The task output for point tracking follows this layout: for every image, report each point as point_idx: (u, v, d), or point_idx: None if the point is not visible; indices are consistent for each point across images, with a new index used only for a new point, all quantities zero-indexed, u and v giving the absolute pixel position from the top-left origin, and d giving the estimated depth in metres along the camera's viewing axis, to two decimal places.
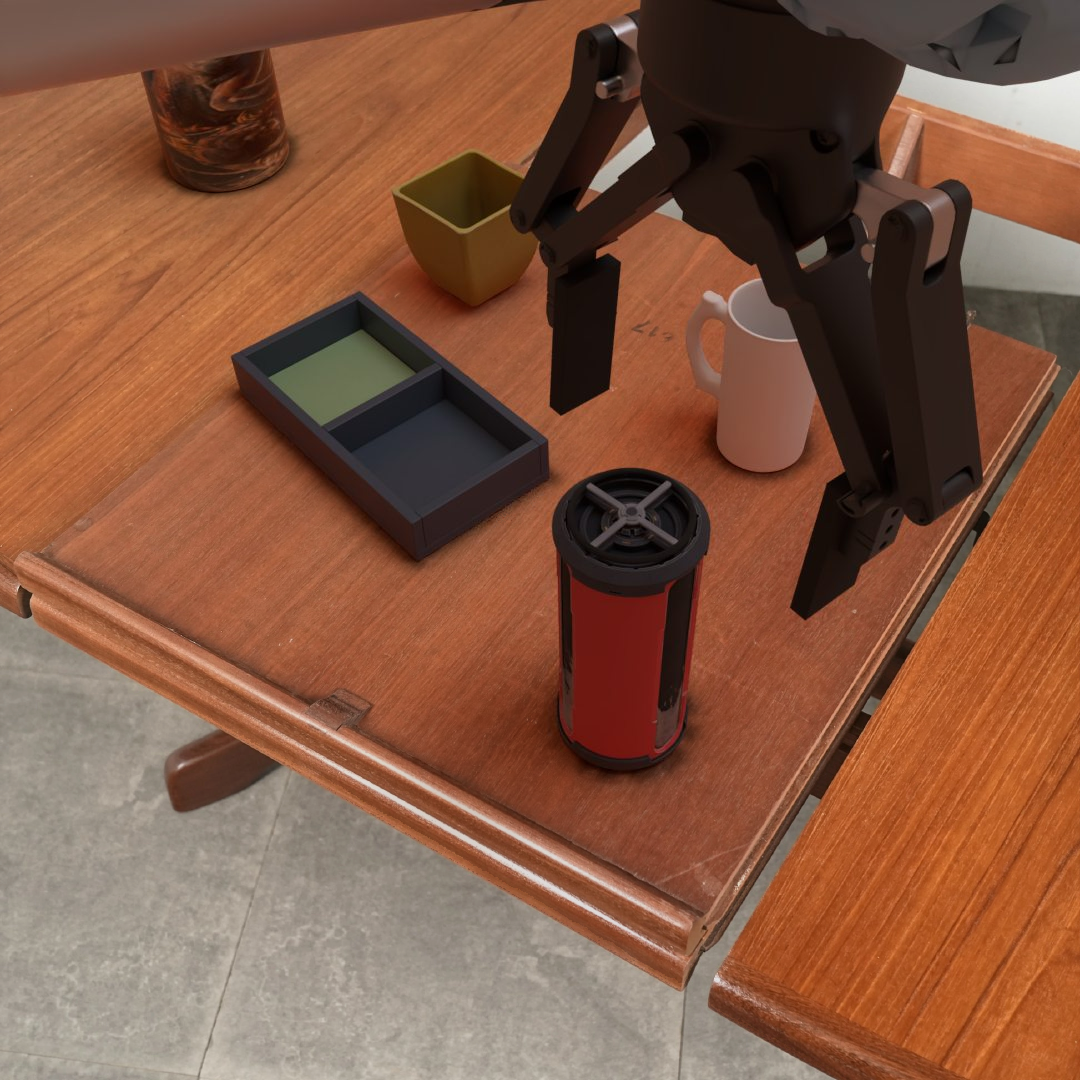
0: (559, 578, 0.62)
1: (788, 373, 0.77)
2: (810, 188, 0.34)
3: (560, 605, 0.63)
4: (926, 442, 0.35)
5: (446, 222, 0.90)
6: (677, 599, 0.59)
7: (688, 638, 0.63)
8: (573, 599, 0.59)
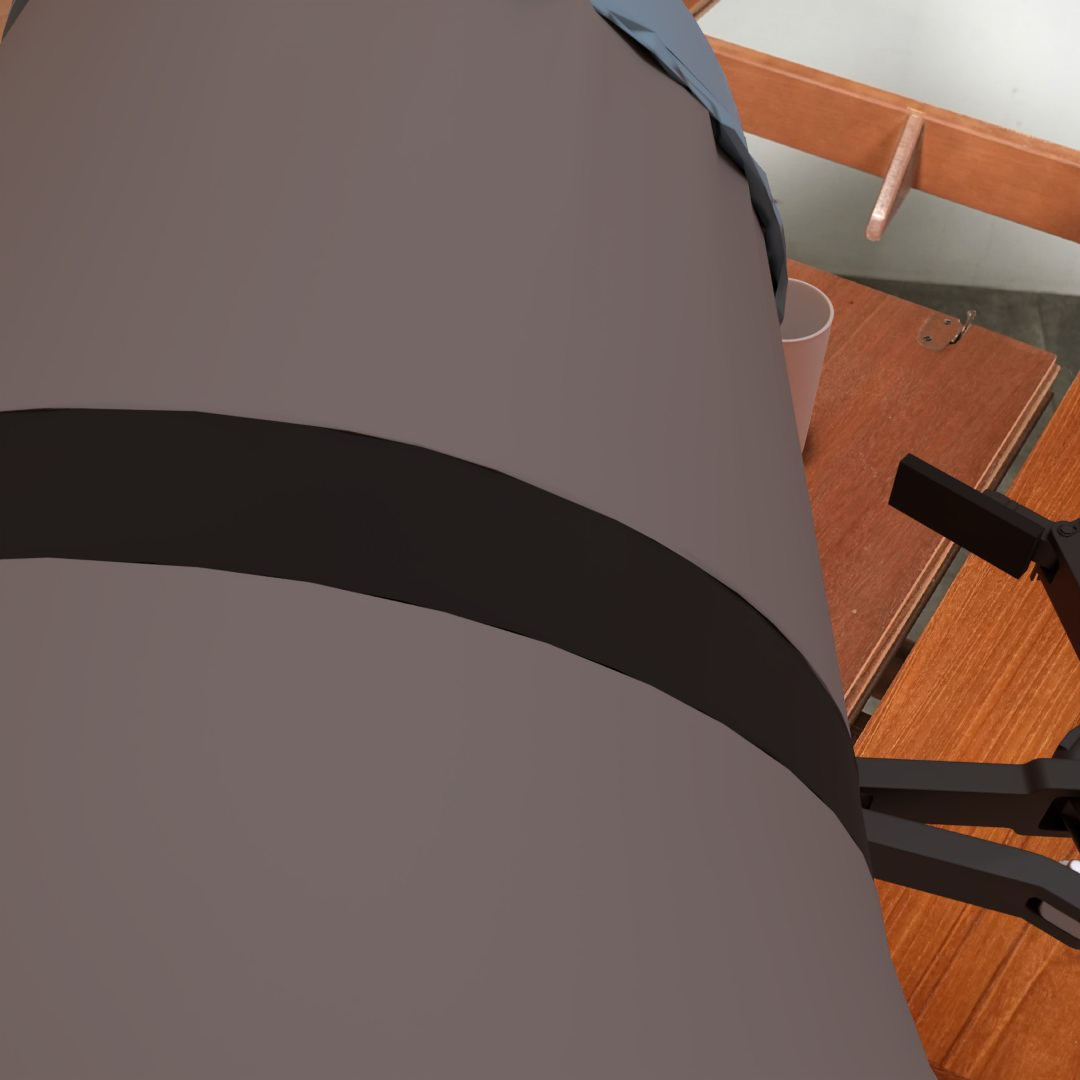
0: None
1: (788, 373, 0.77)
2: None
3: None
4: (899, 850, 0.40)
5: None
6: None
7: None
8: None
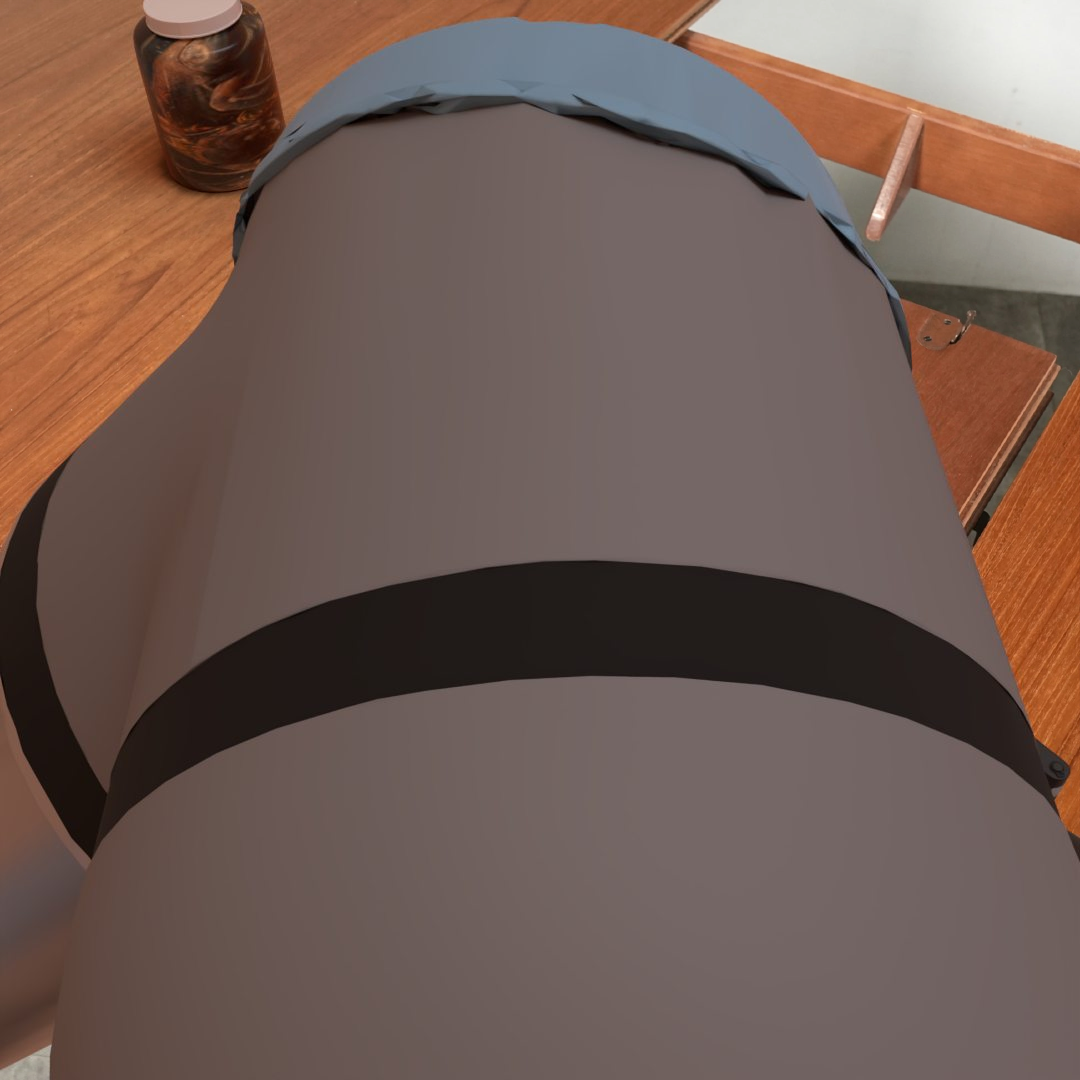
0: None
1: None
2: None
3: None
4: None
5: None
6: None
7: None
8: None
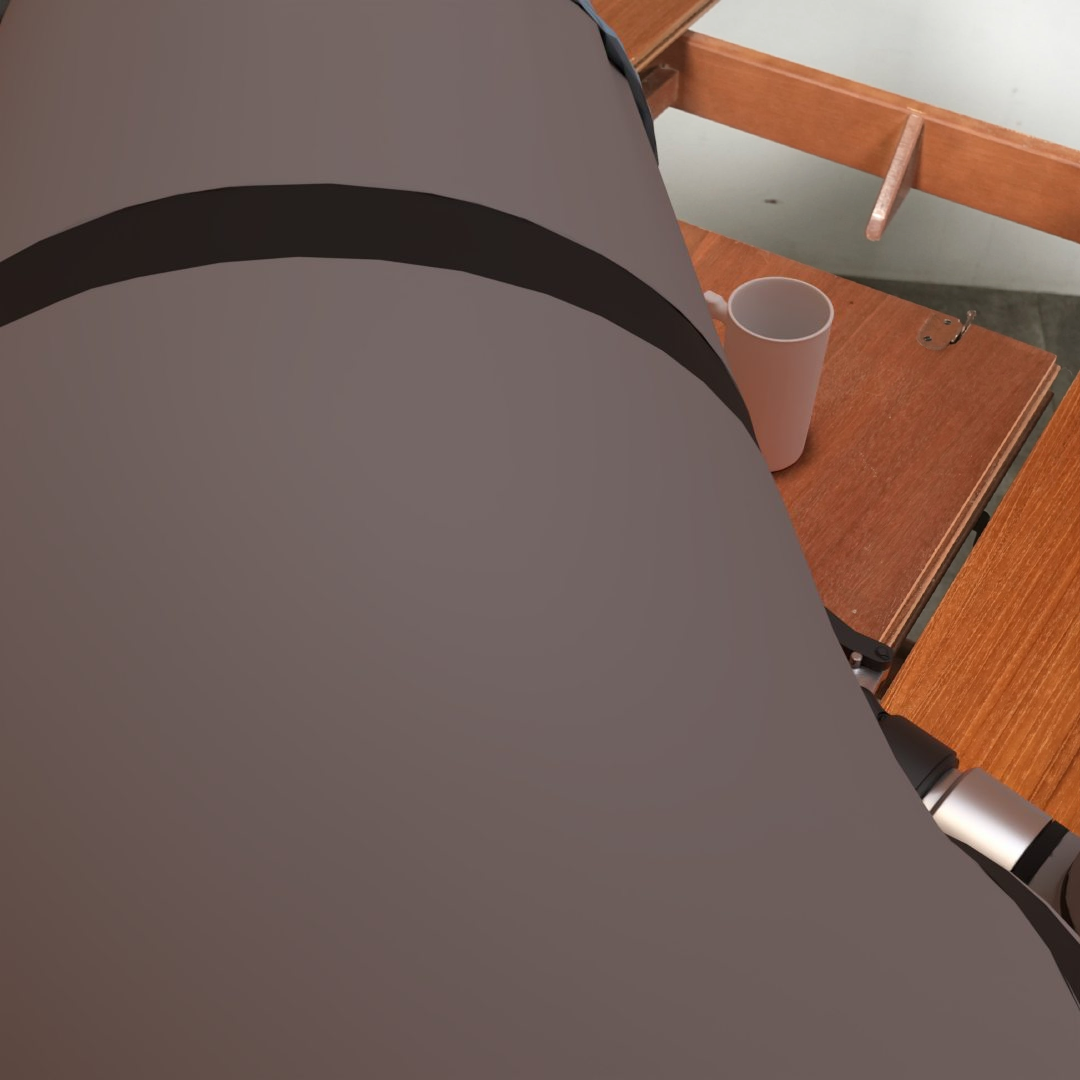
0: None
1: (788, 373, 0.77)
2: None
3: None
4: None
5: None
6: None
7: None
8: None
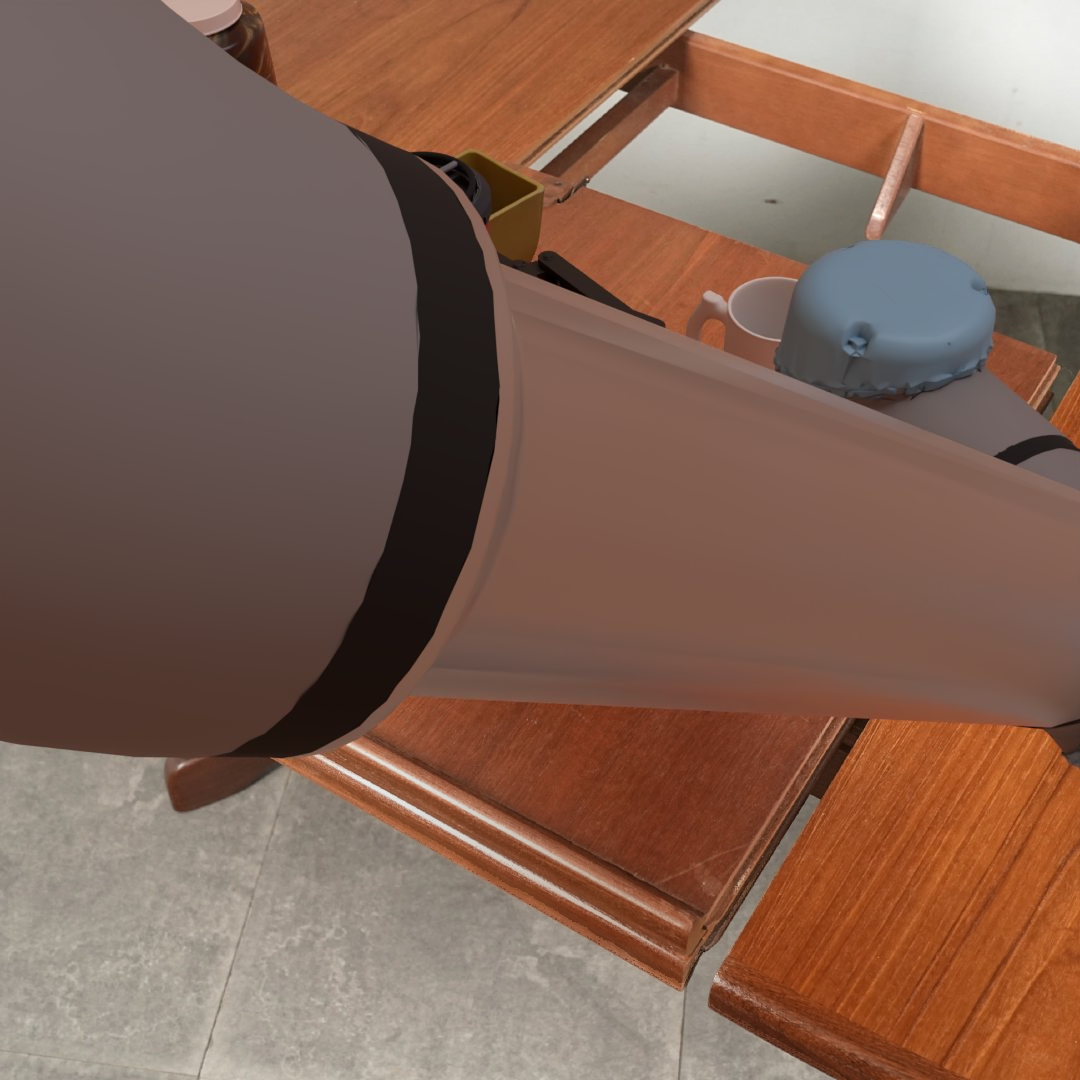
0: None
1: None
2: None
3: None
4: None
5: None
6: None
7: None
8: None
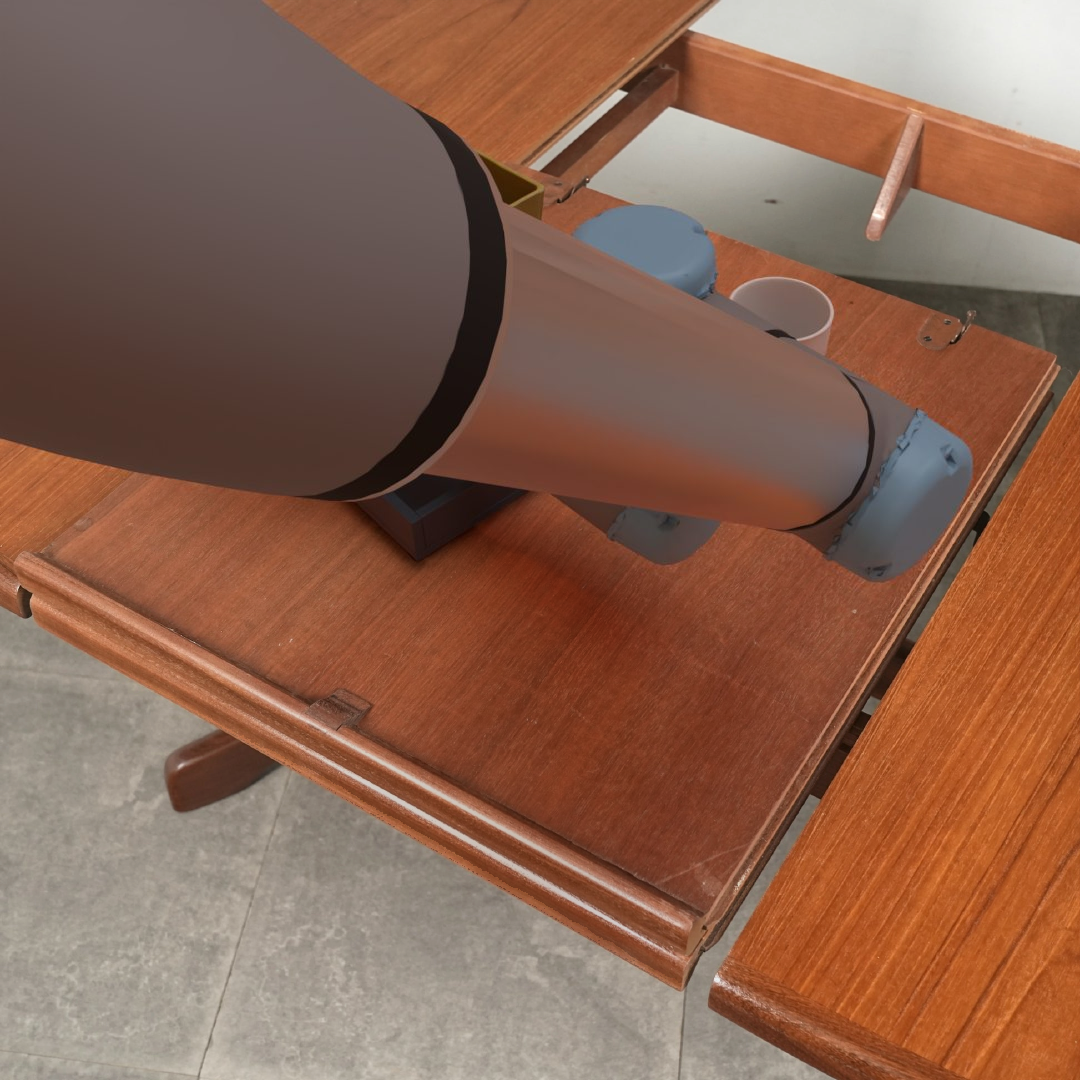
0: None
1: None
2: None
3: None
4: None
5: None
6: None
7: None
8: None
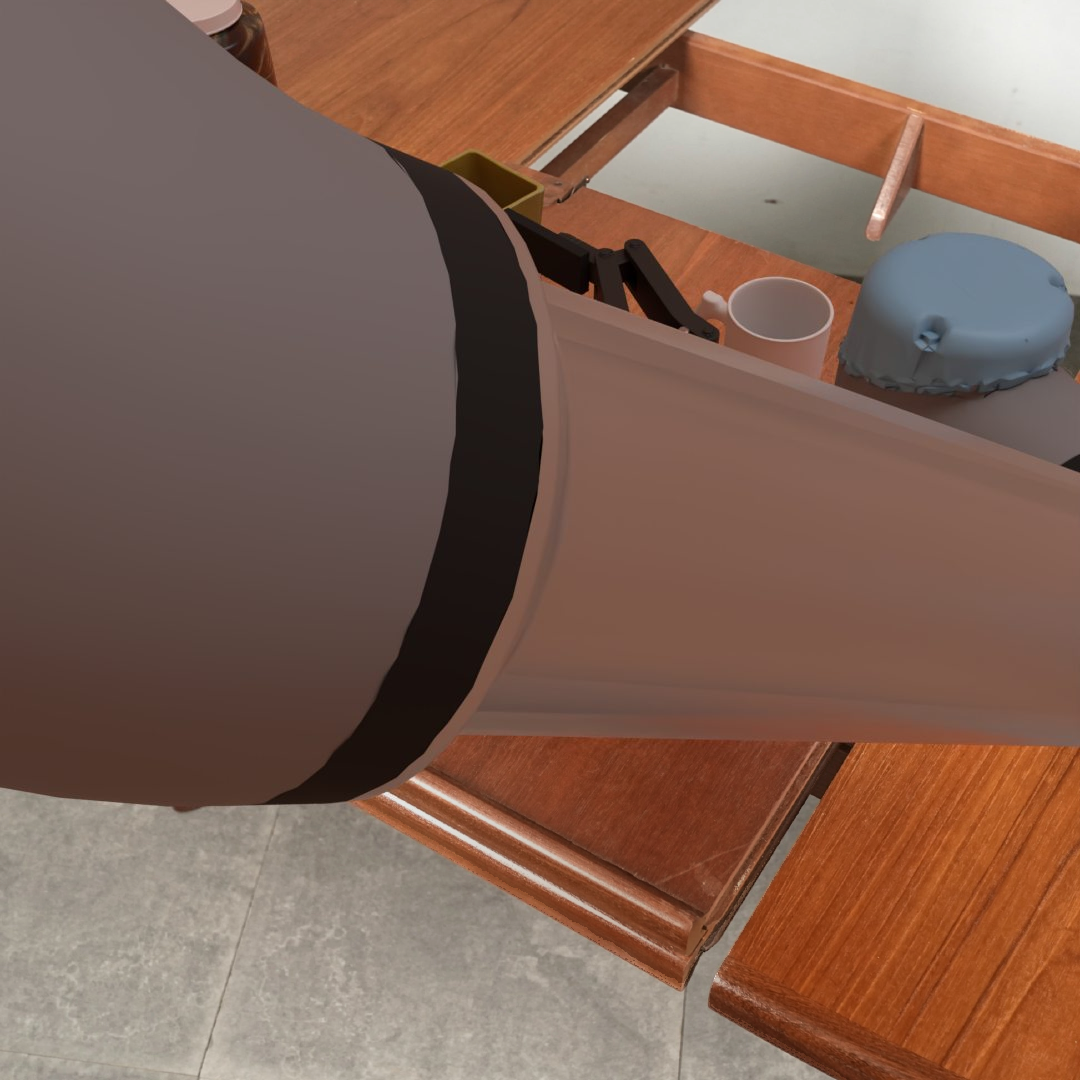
0: None
1: None
2: None
3: None
4: None
5: None
6: None
7: None
8: None
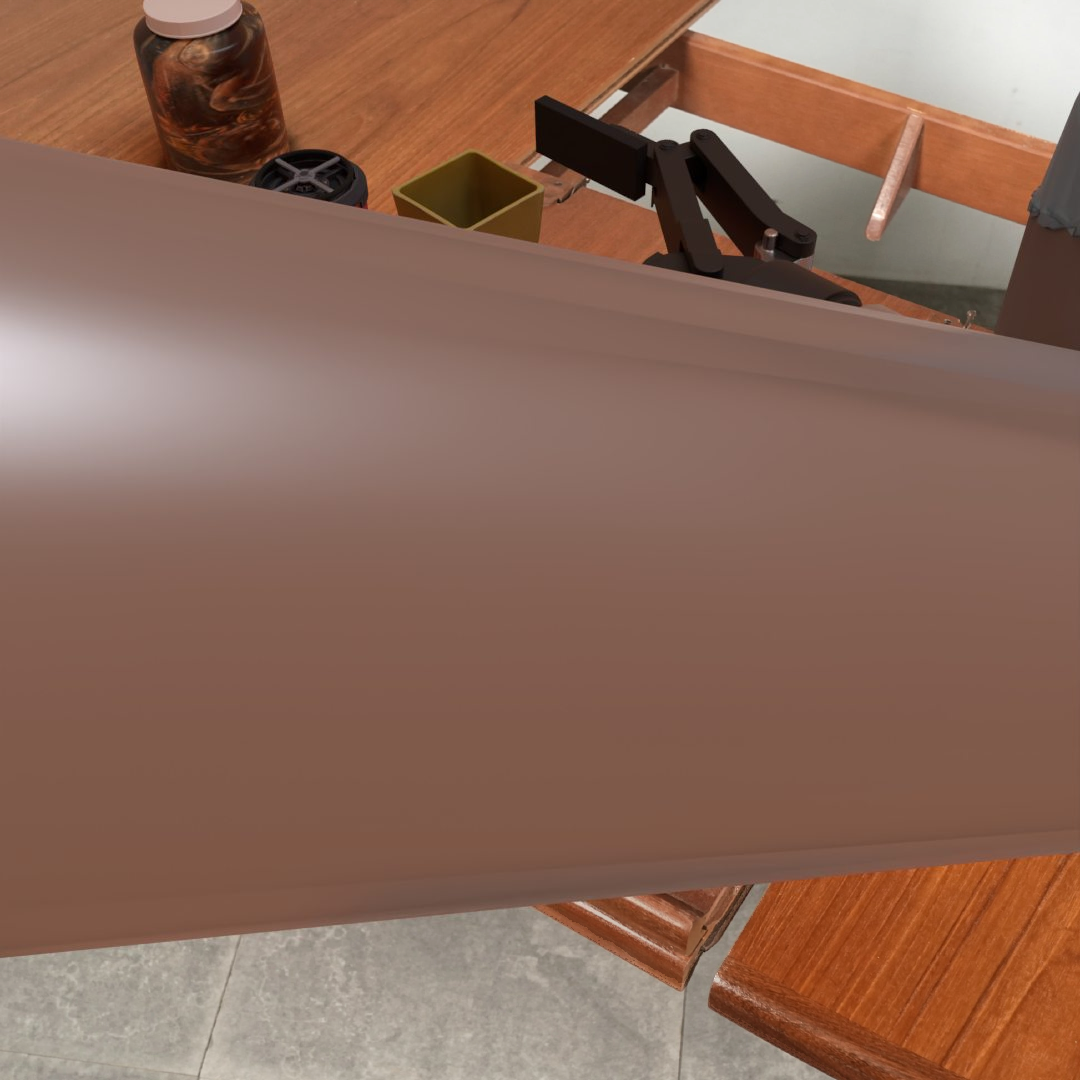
0: None
1: None
2: None
3: None
4: None
5: (446, 222, 0.90)
6: None
7: None
8: None
